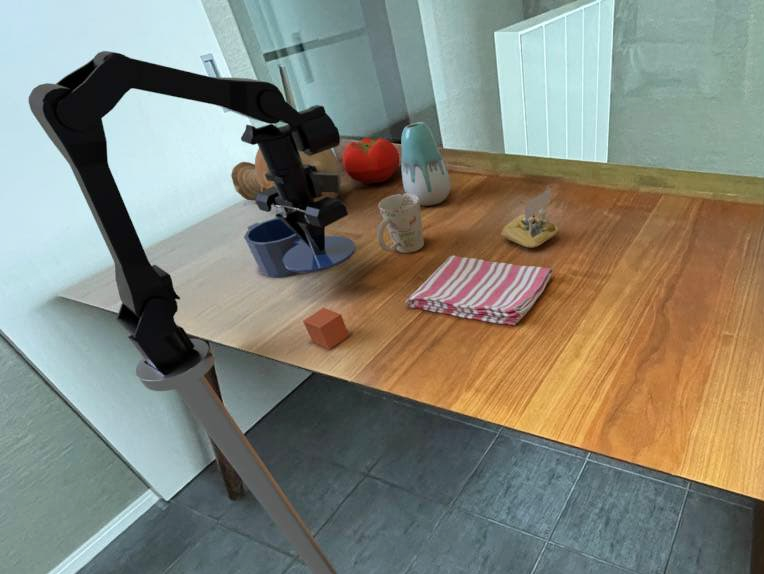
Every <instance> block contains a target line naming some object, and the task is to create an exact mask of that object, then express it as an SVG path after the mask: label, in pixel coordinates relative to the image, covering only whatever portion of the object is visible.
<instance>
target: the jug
mask: <svg viewBox="0 0 764 574" xmlns="http://www.w3.org/2000/svg"><path fill="white" fill-rule="evenodd" d="M298 152H299V155H300V158H301V160H302V163H303V164H305V165H313V166H316V168H317V170H318V171H321V172H327V173H332V174H337V175H338V176H339V189H340V187H341V183H342V182H341V170H340V166H339V161H338V159H337V157H336V154H335V153H334V151H333V149H332V148H331V149H328V150H325V151H323V152H320V153H317V154H314V155H311V156H308V155H306V154H305V153H304V152H300V151H299V150H298ZM266 173H269V171H268V168H267V166H266V163H265V161H264V159H263V156H262V154H261V151H260V149H259V148H258V149H257V151H256V154H255V157H254V163H252V162H249V161H241V162H239V163H238V164H236V165H234V167H233V168H232V170H231V175H230V177H231V179H232V184H233V188H234V190H235V192H237V193H238V194H239V195H240V196H241V197H242V198H243V199H245V200H246V201H251V202H252V201H255V202H256V197H257V193H259V192H262V191H264V190H266V189H269V188H271V187H273V186H275V185H274V183H273V181H268V180H267V179H266V176H265V174H266ZM338 194H339V193H334V192H322V195H323V196H321V197H319V198H314V202H316V201H319V200H321V199H323V198H325V197H330V198H334V199H337V197H338Z"/></svg>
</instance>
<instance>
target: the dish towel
mask: <svg viewBox="0 0 764 574" xmlns="http://www.w3.org/2000/svg"><path fill="white" fill-rule="evenodd" d="M553 272H554V269H553V268H551V267H543V266H534V265H532V266H530V265H516V264H513V263H506V262H498V261H487V260H483V259H479V258H475V257H474V258H473V257H462V256H456V255H453V254H452V255H450V256H449V257H448V258H447V259H446V260H445V261H444V262H443V263H442V264H441V265H440V266H439V267H438V268H437V269H436V270H434V272H433V273H432V274H431V275H430V276H429V277H428V278H427V279H426V280H425V281H424V282H423V283H422V284H421V285H420V286H419V288H418V289H416V290H415V291H414V292H413V293H412V294H410V295H409V296H408V298H407V299H406V300H405V303H406V305H407V306H409V307H410V308H412V309H418V310H419V309H420V310H424V311H427V312H428V311H429V312H433V313H439V314H446V315H450V316H454V317H458V318H462V319H469V320H476V321H482V322H485V323H492V324H498V325H509V326H513V327H514V326H516V325H517V323H518V322H520V321H521V319H523V318H524V316H526V314H527V313H528V312H529V311H530V310H531V309H532V307H533V306H534V304H535V303H536V301H537V299H538V298H539V297H540V296H541V294H542V293H543V292H544V291H545V288H546V286H547V284H548V282H549V281H550V279H551V276H552V275H553Z"/></svg>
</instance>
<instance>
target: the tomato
mask: <svg viewBox="0 0 764 574" xmlns="http://www.w3.org/2000/svg"><path fill="white" fill-rule="evenodd" d="M342 156H343V157H342V163H343V167H344V169H345V172H346V173H347V175H348V176H349V178H351V180H353V181H355V182H357V183H362V184H366V185H371V184H377V183H384V182H385V181H387V180H389V179H390V178H391V177H392V176H393V174H394V173H395V172H396V171H397V170H398V168H399V167H400V163H401V162H400V153H399V151H398V149H397V147H396V146H395V145H394V144H393V143H392V142H391V141H389V140H388V139H386V138H383V137H382V138H381V137H378V138H377V139H376V138H374V139H373V138H370V137H366V138H362V139H361V140H360V141H359V142H354V141H352V142H350V143H349V144H348V145H347V146H346V148H345V149H344V152H343V154H342Z"/></svg>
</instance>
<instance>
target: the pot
mask: <svg viewBox="0 0 764 574" xmlns="http://www.w3.org/2000/svg"><path fill="white" fill-rule="evenodd" d="M246 228H247V229H248V230H247V231H246V232H245V234H244V235H243V239H244V241H245V243H246V245H247V247H248V249H249V251H250V252H251V255H252V257H253V259H254V261H255V263H256V265H257V267H258V269H259V270H260V273H261V274H262V275H264V276H266V277H270V278H285V277H291V276H294V275H298V274H300V273H299V272H294V271H291V270H289V269H287V268H286V267H285V265H284V263H283V257H284V255H285V254H286V253H287V252H288V251H289V250H290V249H292V248H293V247H295V246H296V245H298V244H300V243H303V242H304V241H302V240H301V239H300V238H299V237H298V236H297V235H296V234H295V233H294V232H293V231H292V230H291V229H290V228H289V227H288V226H287V225H286V224H284V223H283V222H282V221H281V220H280V219H279V218H277V217H274V218H271V219H267V220H264V221H262V222H255V223H253V224H251V225H249V226H247V227H246Z"/></svg>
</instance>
